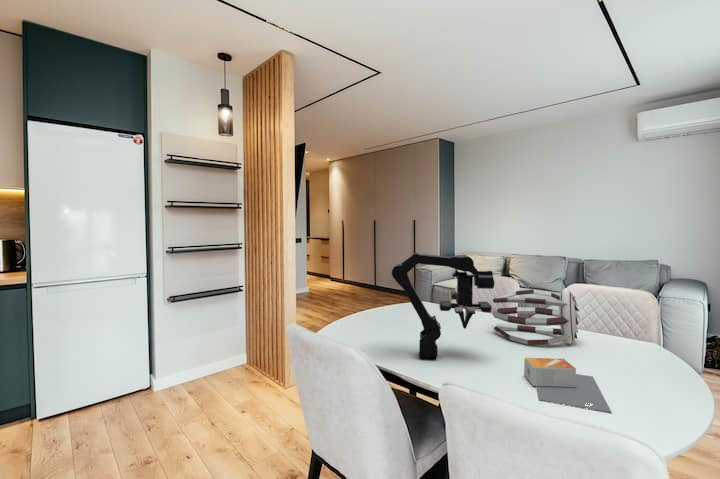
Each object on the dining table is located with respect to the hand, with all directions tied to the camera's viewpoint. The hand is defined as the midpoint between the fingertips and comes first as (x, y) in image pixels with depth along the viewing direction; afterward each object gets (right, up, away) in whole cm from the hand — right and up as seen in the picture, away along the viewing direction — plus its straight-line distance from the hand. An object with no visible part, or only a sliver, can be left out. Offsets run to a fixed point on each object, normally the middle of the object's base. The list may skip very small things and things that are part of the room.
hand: (464, 328), depth 134 cm
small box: (+15, -9, -19) cm, 26 cm away
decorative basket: (+38, -11, +23) cm, 46 cm away
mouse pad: (+26, -13, -23) cm, 37 cm away
